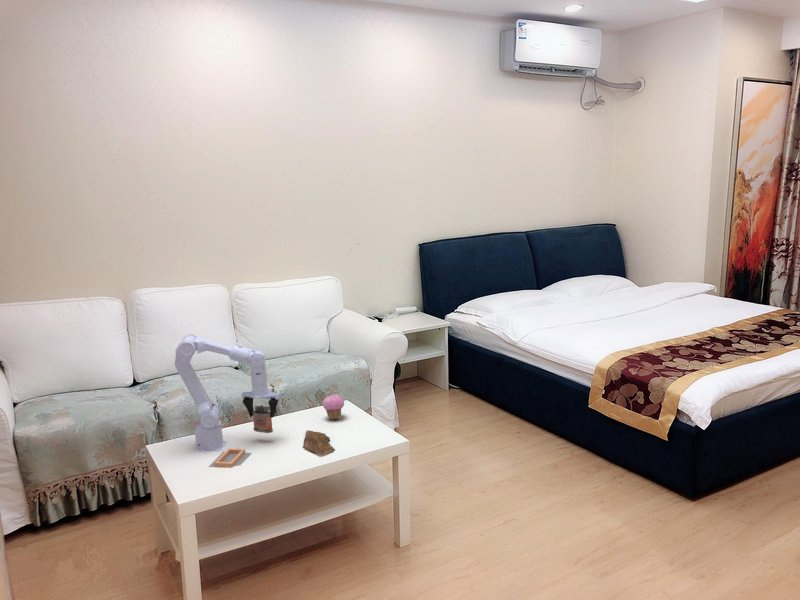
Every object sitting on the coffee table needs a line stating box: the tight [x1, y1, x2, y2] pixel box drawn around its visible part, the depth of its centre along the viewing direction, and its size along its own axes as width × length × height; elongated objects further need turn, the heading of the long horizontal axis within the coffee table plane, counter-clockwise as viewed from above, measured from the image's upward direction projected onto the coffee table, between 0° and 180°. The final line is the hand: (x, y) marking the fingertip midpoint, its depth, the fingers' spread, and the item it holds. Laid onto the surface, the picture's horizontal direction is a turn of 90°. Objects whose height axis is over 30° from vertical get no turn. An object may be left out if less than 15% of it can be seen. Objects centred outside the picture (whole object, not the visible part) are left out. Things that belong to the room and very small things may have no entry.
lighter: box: [252, 404, 274, 434], centre depth 234 cm, size 8×3×10 cm, turn 69°
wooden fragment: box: [302, 429, 336, 458], centre depth 232 cm, size 26×11×1 cm, turn 18°
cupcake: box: [322, 394, 345, 420], centre depth 255 cm, size 9×9×10 cm
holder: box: [208, 448, 252, 469], centre depth 220 cm, size 11×12×2 cm
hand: (262, 416), depth 234 cm, fingers closed on lighter, 7 cm apart
